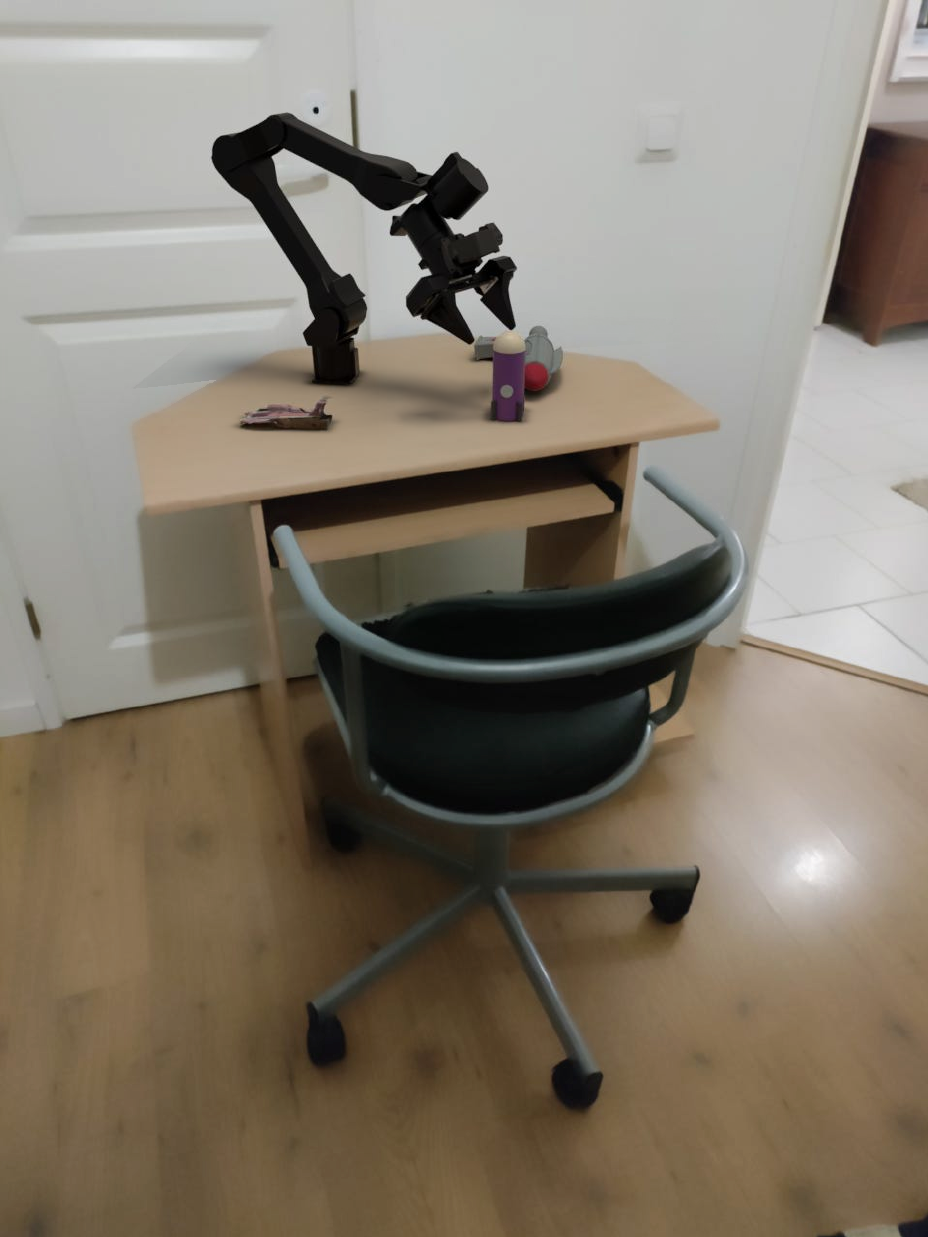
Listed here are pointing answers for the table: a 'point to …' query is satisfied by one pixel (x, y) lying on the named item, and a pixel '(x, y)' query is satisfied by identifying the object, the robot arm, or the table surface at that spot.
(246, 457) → the table surface
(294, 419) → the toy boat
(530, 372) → the toy ray gun
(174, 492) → the table surface
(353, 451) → the table surface
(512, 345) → the toy rocket
